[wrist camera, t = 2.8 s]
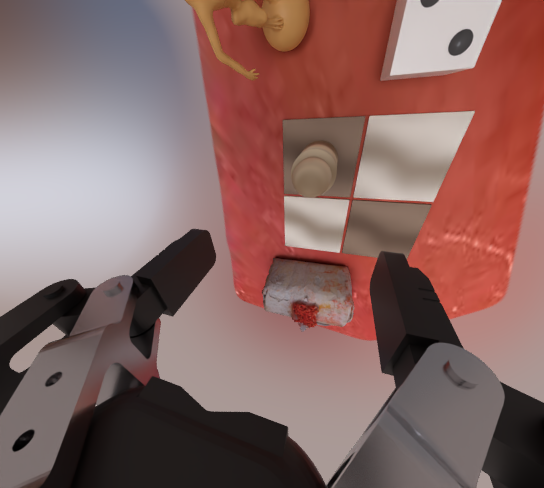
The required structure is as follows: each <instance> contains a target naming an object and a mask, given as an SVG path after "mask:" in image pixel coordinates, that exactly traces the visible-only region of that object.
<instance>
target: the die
mask: <svg viewBox="0 0 544 488" xmlns="http://www.w3.org/2000/svg"><path fill="white" fill-rule="evenodd" d="M501 1H502V0H397V2H396V7H395V11H394V16H393V21H392V26H391V31H390V35H389V40H388V45H387V50H386V54H385V59H384V64H383V69H382V74H381V78H380V81H384V80H396V79H407V78H418V77H430V76H441V75H447V74H451V73H455V72H459V71H463V70H467V69H471V68H474V66H475V64H476V61H477V59H478V56H479V54H480V52H481V49H482V47H483V44H484V42H485V40H486V37H487V35H488V32H489V30H490V28H491V25H492V23H493V20H494V18H495V15H496V13H497V11H498V8H499V6H500V3H501Z"/></svg>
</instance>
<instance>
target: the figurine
mask: <svg viewBox="0 0 544 488" xmlns="http://www.w3.org/2000/svg"><path fill="white" fill-rule="evenodd" d="M185 1H186V2H187V3H188V4H189V5H190V6H192V7H193V8H194V9H195V10H196V12H197V15H198V17H199V19H200V21H201V23H202V24H203V26H204V28H205V30H206V33H207V36H208V38H209V41H210V43H211V46H212V48H213V50H214V53H215V55H216V57H217V58H218V60H219V61H221V62H222V63H224V64H226V65H228V66H230V67H231V68H233V69H234V70H236V71H237V72H238V73H240V74H242V75H244V76H245V77H246V78H248V79H250V80H255V79H257V78H258V77H255V75H259V73H253V71H255V70H256V69H252V70H251V71H247V70H246V69H245V68H244V67H243V66H242V65H241V64H239V63H238V62H237V61H235V60H233V59H232V58H231V57H230V56H228V55H227V54H225V53H224V52H223V50H222V47H221V43H220V40H219V36H218V33H217V30H216V27H215V24H214V20H213V11H215V10H219V9H222V8H224V7H226V8H228V7H229V8H230V9H231V19H232V22H233V23H234V24H235V25H238V26H240V25H248V26H256V27H257V28H263V32H264V34H265V37H266V39H267V41H268V42H269V43H270V45H271V46H272V47H273V48H275V49H276V50H278V51H283V52H286V51H290V50H292V49H294V48H295V47H297V46H298V45H299V44H300V42H301V41H302V39H303V38H304V36H305V34H306V31H307V28H308V24H309V18H310V6H309V0H263V4H262V8H260V7H259V6H258V5H257V4H256V2H255V1H253V0H244V1H241V0H185ZM253 78H254V79H253Z"/></svg>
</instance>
